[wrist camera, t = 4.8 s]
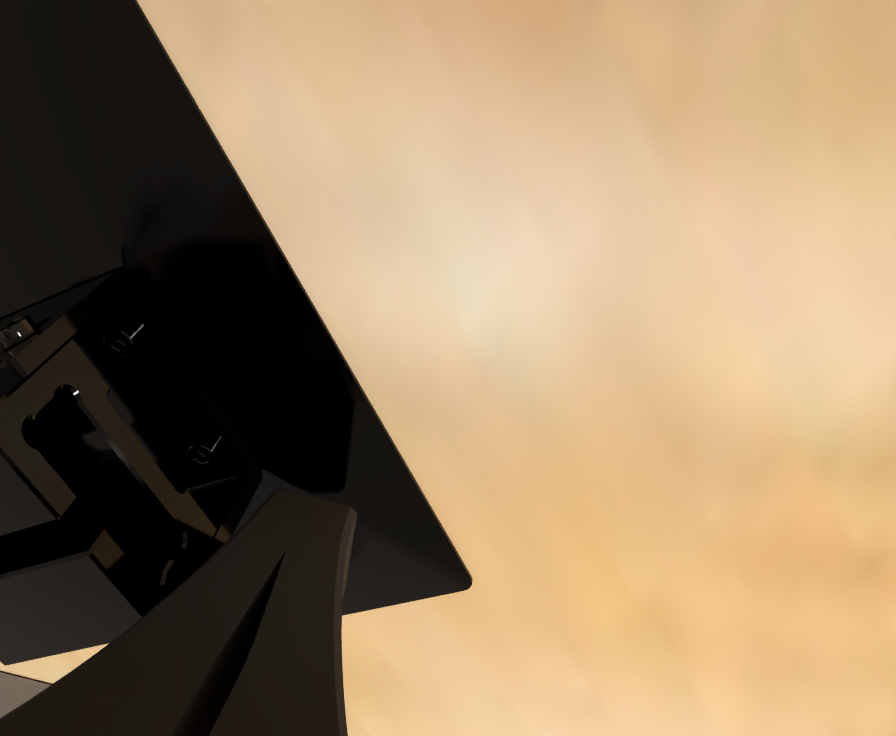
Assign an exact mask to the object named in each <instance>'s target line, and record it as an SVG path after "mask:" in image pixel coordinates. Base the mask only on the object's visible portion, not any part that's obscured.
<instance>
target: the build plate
mask: <svg viewBox="0 0 896 736" xmlns="http://www.w3.org/2000/svg"><path fill="white" fill-rule="evenodd" d="M278 489H281V490H285V491H290V492H294V493H298V494H302V495H306V496H310V497H314V498H318V499H322V500H326V501H330V502H335V503H339V504H343V505H347V506H351V507H352V508H353V509H354V511H355V512H356V513H357V518H356V524H355V530H354V537H353V543H352V549H351V555H350V561H349V568H348V574H347V580H346V586H345V592H344V596H343V600H342V615H347V614H352V613H357V612H361V611H366V610H371V609H376V608H381V607H386V606H391V605H396V604H401V603H406V602H410V601H415V600H420V599H425V598H430V597H435V596H440V595H445V594H450V593H455V592H459V591H464V590H467V589H469V588H470V587H471V585H472V577H471V575H470V573H469V571H468V570H467V568H466V566H465V564H464V563H463V561H462V559H461V557H460V556H459V554H458V552H457V551H456V549H455V547H454V545H453V544H452V542H451V540H450V539H449V537H448V535H447V533H446V532H445V530H444V528H443V527H442V525H441V523H440V521H439V520H438V518H437V516H436V514H435V513H434V511H433V509H432V508H431V506H430V504H429V502H428V501H427V499H426V497H425V496H424V494H423V492H422V490H421V489H420V487H419V485H418V484H417V482H416V480H415V478H414V477H413V475H412V473H411V472H410V470H409V468H408V466H407V465H406V463H405V461H404V459H403V458H402V456H401V454H400V453H399V451H398V449H397V447H396V446H395V444H394V442H393V441H392V439H391V437H390V435H389V434H388V432H387V430H386V429H385V427H384V425H383V423H382V422H381V420H380V418H379V416H378V415H377V413H376V411H375V410H374V408H373V406H372V404H371V403H370V401H369V399H368V398H367V396H366V394H365V392H364V391H363V389H362V387H361V386H360V384H359V382H358V380H357V379H356V377H355V375H354V374H353V372H352V370H351V368H350V367H349V365H348V363H347V361H346V360H345V358H344V356H343V355H342V353H341V351H340V349H339V348H338V346H337V344H336V343H335V341H334V339H333V337H332V336H331V334H330V332H329V331H328V329H327V327H326V325H325V324H324V322H323V320H322V318H321V317H320V315H319V313H318V312H317V310H316V308H315V306H314V305H313V303H312V301H311V300H310V298H309V296H308V294H307V293H306V291H305V289H304V288H303V286H302V284H301V282H300V281H299V279H298V277H297V276H296V274H295V272H294V270H293V269H292V267H291V265H290V263H289V262H288V260H287V258H286V257H285V255H284V253H283V251H282V250H281V248H280V246H279V245H278V243H277V241H276V239H275V238H274V236H273V234H272V233H271V231H270V229H269V227H268V226H267V224H266V222H265V220H264V219H263V217H262V215H261V214H260V212H259V210H258V208H257V207H256V205H255V203H254V202H253V200H252V198H251V196H250V195H249V193H248V191H247V190H246V188H245V186H244V184H243V183H242V181H241V179H240V177H239V176H238V174H237V172H236V171H235V169H234V167H233V165H232V164H231V162H230V160H229V159H228V157H227V155H226V153H225V152H224V150H223V148H222V147H221V145H220V143H219V141H218V140H217V138H216V136H215V135H214V133H213V131H212V129H211V128H210V126H209V124H208V122H207V121H206V119H205V117H204V116H203V114H202V112H201V110H200V109H199V107H198V105H197V104H196V102H195V100H194V98H193V97H192V95H191V93H190V92H189V90H188V88H187V86H186V85H185V83H184V81H183V79H182V78H181V76H180V74H179V73H178V71H177V69H176V67H175V66H174V64H173V62H172V61H171V59H170V57H169V55H168V54H167V52H166V50H165V49H164V47H163V45H162V43H161V42H160V40H159V38H158V37H157V35H156V33H155V31H154V30H153V28H152V26H151V24H150V23H149V21H148V19H147V18H146V16H145V14H144V12H143V11H142V9H141V7H140V6H139V4H138V2H137V0H0V661H1V662H2V663H3V664H4V665H10V664H15V663H19V662H24V661H29V660H33V659H38V658H42V657H47V656H52V655H56V654H61V653H66V652H70V651H75V650H80V649H84V648H89V647H94V646H98V645H103V644H107V643H111V642H112V641H113V640H115V639H116V638H117V637H119V636H120V635H121V634H122V633H124V632H125V631H126V630H127V629H129V628H130V627H131V626H133V625H134V624H135V623H136V622H137V621H139V620H140V619H141V618H142V617H143V616H145V615H146V614H147V613H148V612H149V611H150V610H152V609H153V608H154V607H155V606H156V605H158V604H159V603H160V602H161V601H162V600H164V599H165V598H166V597H167V596H168V595H169V594H171V593H172V592H173V591H174V590H175V589H176V588H178V587H179V586H180V585H181V584H182V583H183V582H184V581H185V580H186V579H188V578H189V577H190V576H191V575H192V574H193V573H194V572H195V571H196V570H197V569H198V568H199V567H200V566H201V565H202V564H204V563H205V562H206V561H207V560H208V559H209V558H210V557H211V556H212V555H213V554H214V553H215V552H216V551H217V550H218V549H219V548H220V547H221V546H222V545H223V544H224V543H225V542H226V541H227V540H228V539H229V538H230V537H231V536H232V535H233V534H234V533H235V532H236V531H237V530H238V529H239V528H240V527H241V526H242V525H243V524H244V523H245V522H246V521H247V520H248V519H249V518H250V517H251V516H252V514H253V513H254V512H255V511H256V510H257V509H258V508H259V507H260V506H261V504H262V503H263V502H264V501H265V500H266V499H267V497H268V496H269V495H270V494H271V493H272V492H274V491H276V490H278Z"/></svg>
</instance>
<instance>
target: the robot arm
mask: <svg viewBox="0 0 896 736" xmlns="http://www.w3.org/2000/svg"><path fill="white" fill-rule="evenodd" d="M356 518H357V513H356V512H355V511H354V509H353V508H352V507H351V506H347V505H343V504H339V503H335V502H330V501H326V500H322V499H318V498H314V497H310V496H306V495H302V494H298V493H294V492H290V491H285V490H281V489H278V490H276V491H274V492H272V493H271V494H270V495H269V496H268V497H267V499H266V500H265V501H264V502H263V503H262V504H261V506H260V507H259V508H258V509H257V510H256V511H255V512H254V513H253V514H252V516H251V517H250V518H249V519H248V520H247V521H246V522H245V523H244V524H243V525H242V526H241V527H240V528H239V529H238V530H237V531H236V532H235V533H234V534H233V535H232V536H231V537H230V538H229V539H228V540H227V541H226V542H225V543H224V544H223V545H222V546H221V547H220V548H219V549H218V550H217V551H216V552H215V553H214V554H213V555H212V556H211V557H210V558H209V559H208V560H207V561H206V562H205V563H204V564H202V565H201V566H200V567H199V568H198V569H197V570H196V571H195V572H194V573H193V574H192V575H191V576H190V577H189V578H188V579H186V580H185V581H184V582H183V583H182V584H181V585H180V586H179V587H178V588H176V589H175V590H174V591H173V592H172V593H171V594H169V595H168V596H167V597H166V598H165V599H164V600H162V601H161V602H160V603H159V604H158V605H156V606H155V607H154V608H153V609H152V610H150V611H149V612H148V613H147V614H146V615H145V616H143V617H142V618H141V619H140V620H139V621H137V622H136V623H135V624H134V625H133V626H131V627H130V628H129V629H127V630H126V631H125V632H124V633H122V634H121V635H120V636H119V637H117V638H116V639H115V640H113V641H112V642H111V643H109V644H108V645H107V646H105V647H104V648H103V649H101V650H100V651H99V652H97V653H96V654H95V655H93V656H92V657H91V658H89V659H88V660H86V661H85V662H84V663H82V664H81V665H80V666H78V667H77V668H75V669H74V670H73V671H71V672H70V673H68V674H67V675H65V676H64V677H62V678H61V679H59V680H58V681H56V682H55V683H53V684H52V685H50V686H49V687H47V688H46V689H44V690H43V691H41V692H40V693H38V694H37V695H35V696H34V697H32V698H31V699H29V700H28V701H26V702H25V703H23V704H22V705H20V706H19V707H17V708H16V709H14V710H12V711H11V712H9V713H8V714H6V715H5V716H3V717H1V718H0V736H348V734H347V725H346V715H345V703H344V689H343V671H342V640H341V626H342V600H343V596H344V592H345V586H346V580H347V574H348V568H349V561H350V555H351V549H352V543H353V537H354V530H355V524H356Z"/></svg>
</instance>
